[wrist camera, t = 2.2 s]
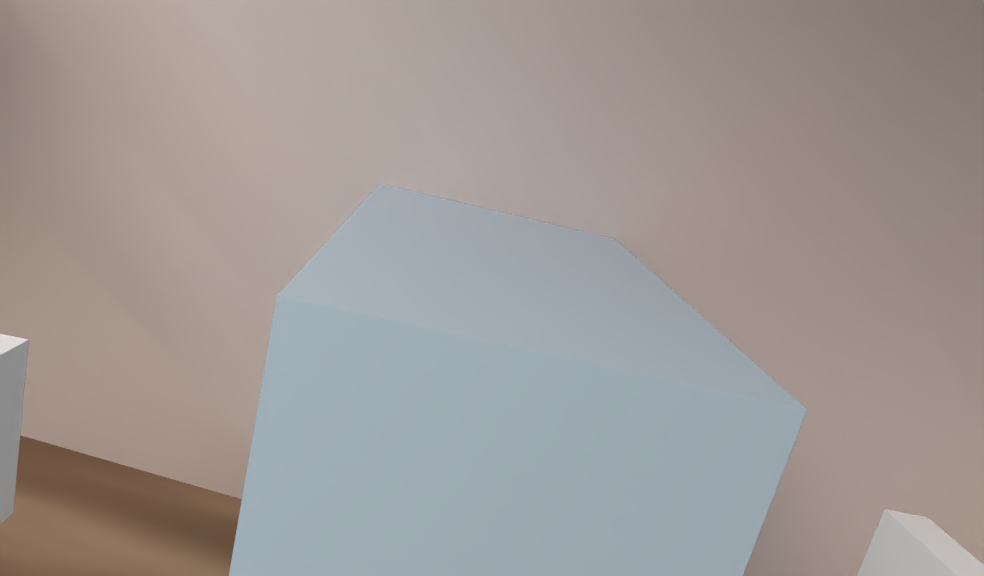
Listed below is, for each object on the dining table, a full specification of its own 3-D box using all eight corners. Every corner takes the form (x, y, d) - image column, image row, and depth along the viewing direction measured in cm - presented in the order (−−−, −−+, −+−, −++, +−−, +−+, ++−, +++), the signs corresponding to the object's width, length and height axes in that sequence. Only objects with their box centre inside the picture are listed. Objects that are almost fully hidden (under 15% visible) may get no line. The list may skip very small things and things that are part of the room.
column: (380, 183, 17) (277, 295, 7) (614, 238, 18) (807, 409, 8) (335, 405, 18) (200, 744, 9) (553, 448, 19) (652, 809, 9)
